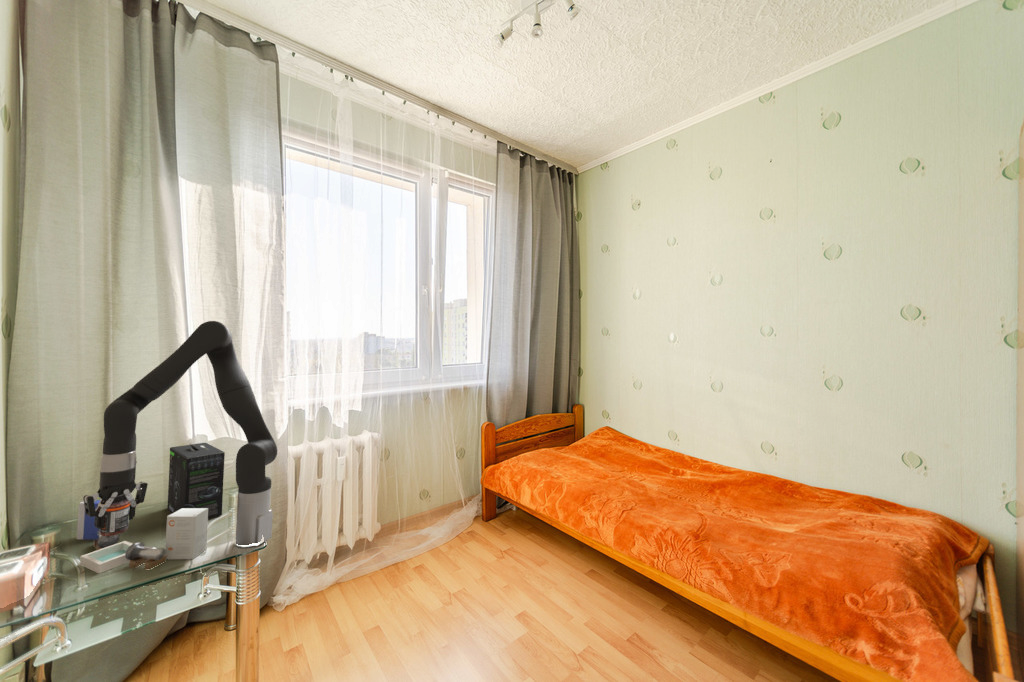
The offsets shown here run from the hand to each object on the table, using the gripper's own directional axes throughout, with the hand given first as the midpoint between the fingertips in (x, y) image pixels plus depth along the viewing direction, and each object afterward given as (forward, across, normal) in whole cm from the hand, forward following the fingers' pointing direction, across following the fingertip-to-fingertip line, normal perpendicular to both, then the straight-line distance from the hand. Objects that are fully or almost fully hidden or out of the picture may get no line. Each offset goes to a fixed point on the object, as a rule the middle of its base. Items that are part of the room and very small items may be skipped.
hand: (115, 523), depth 116 cm
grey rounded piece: (+11, -3, +12) cm, 16 cm away
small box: (+11, -11, +15) cm, 21 cm away
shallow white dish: (+11, 0, 0) cm, 11 cm away
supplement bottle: (+3, 0, 0) cm, 3 cm away
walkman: (+11, -4, -22) cm, 25 cm away
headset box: (+11, -30, -15) cm, 35 cm away
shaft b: (+11, -3, -11) cm, 16 cm away
